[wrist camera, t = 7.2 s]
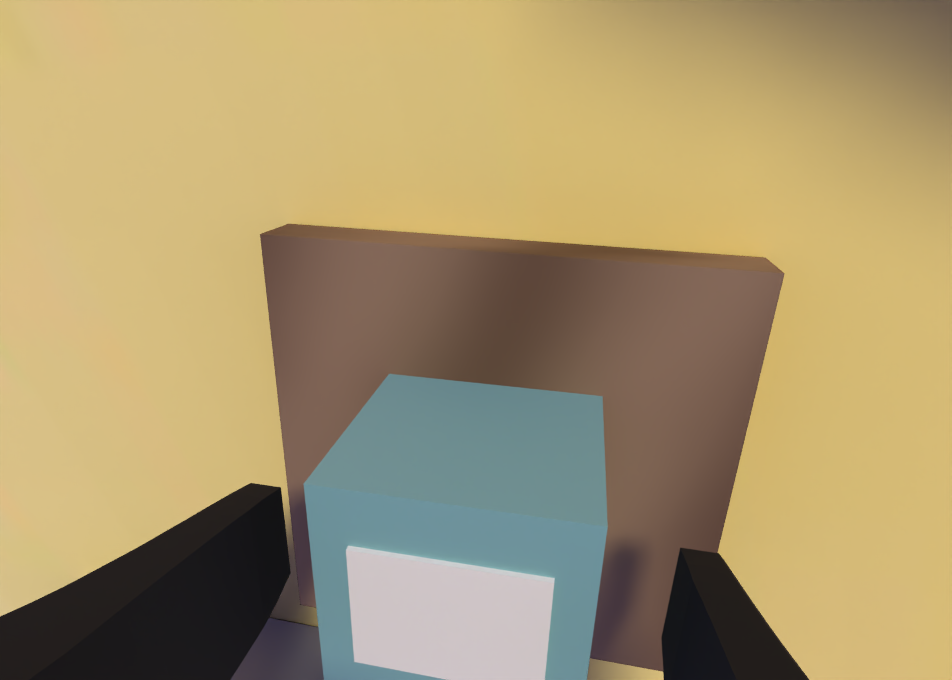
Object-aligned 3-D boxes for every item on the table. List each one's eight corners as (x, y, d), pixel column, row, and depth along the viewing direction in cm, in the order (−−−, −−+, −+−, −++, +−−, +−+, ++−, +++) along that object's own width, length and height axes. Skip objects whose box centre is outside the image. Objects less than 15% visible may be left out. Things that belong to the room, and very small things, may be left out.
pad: (765, 257, 11) (783, 272, 10) (680, 634, 15) (687, 675, 14) (288, 223, 13) (259, 233, 12) (320, 571, 16) (300, 604, 15)
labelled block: (602, 395, 12) (607, 531, 8) (581, 569, 13) (577, 750, 10) (388, 374, 12) (300, 487, 9) (394, 540, 14) (323, 697, 10)
